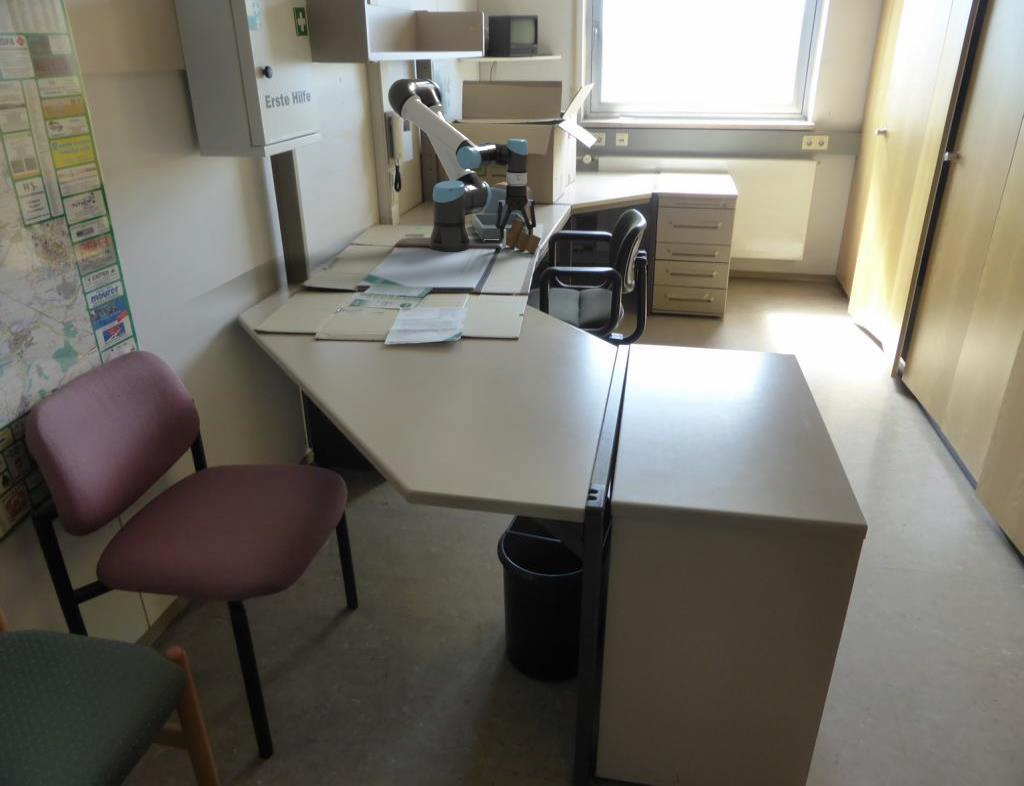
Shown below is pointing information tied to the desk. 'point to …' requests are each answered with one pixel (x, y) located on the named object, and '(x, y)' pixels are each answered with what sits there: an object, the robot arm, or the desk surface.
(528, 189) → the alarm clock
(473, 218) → the crate
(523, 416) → the desk surface
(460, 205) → the robot arm
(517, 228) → the wooden block set
